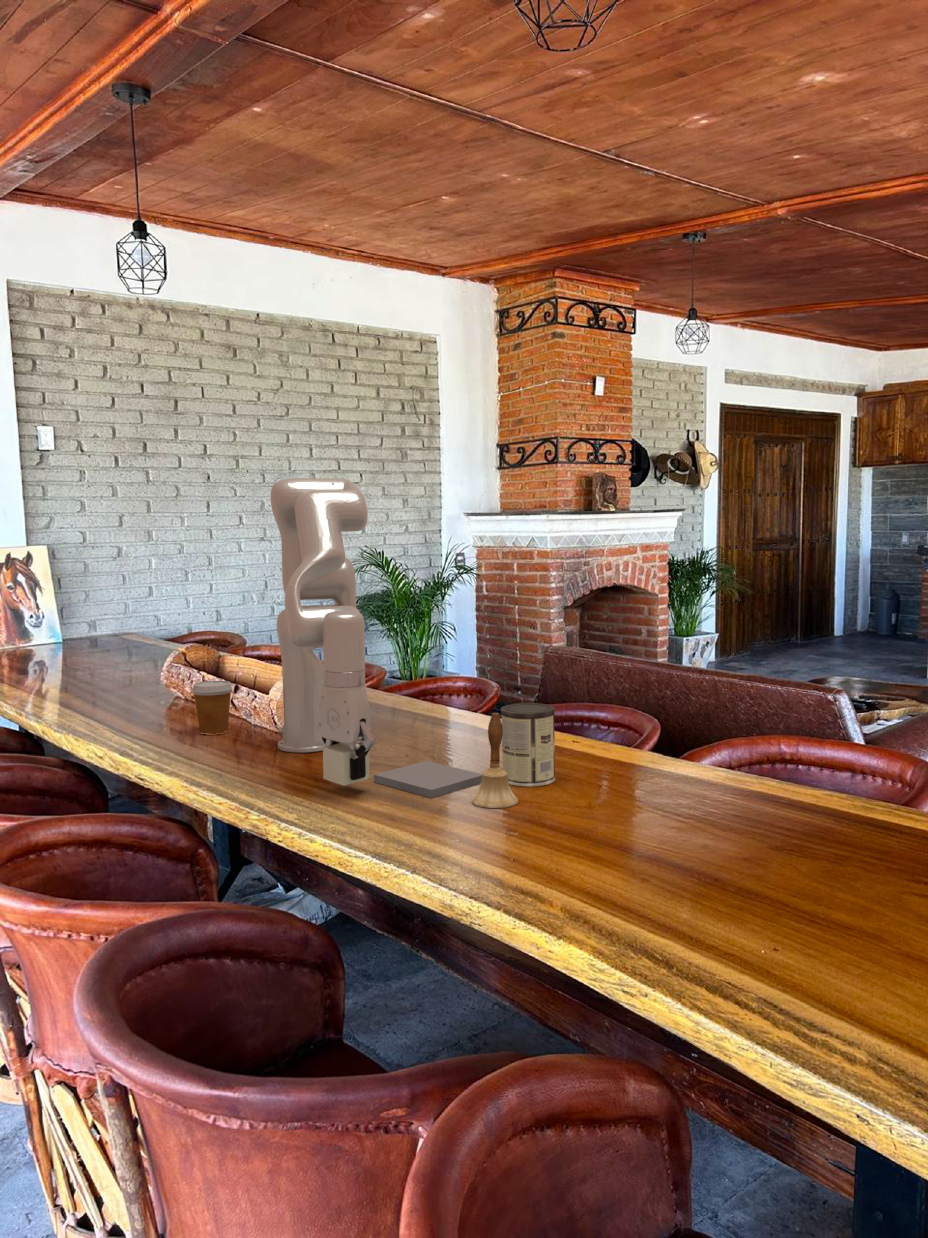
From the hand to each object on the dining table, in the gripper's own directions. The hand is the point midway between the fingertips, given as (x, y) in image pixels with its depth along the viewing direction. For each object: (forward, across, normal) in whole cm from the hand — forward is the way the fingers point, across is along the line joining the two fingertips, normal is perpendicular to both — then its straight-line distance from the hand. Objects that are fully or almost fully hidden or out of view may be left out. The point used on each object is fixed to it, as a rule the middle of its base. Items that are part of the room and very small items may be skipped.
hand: (346, 774), depth 174 cm
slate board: (+3, +7, +15) cm, 16 cm away
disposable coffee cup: (+5, -64, +11) cm, 65 cm away
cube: (+1, 0, 0) cm, 1 cm away
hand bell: (+3, +25, +14) cm, 28 cm away
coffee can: (+3, +20, +29) cm, 35 cm away
